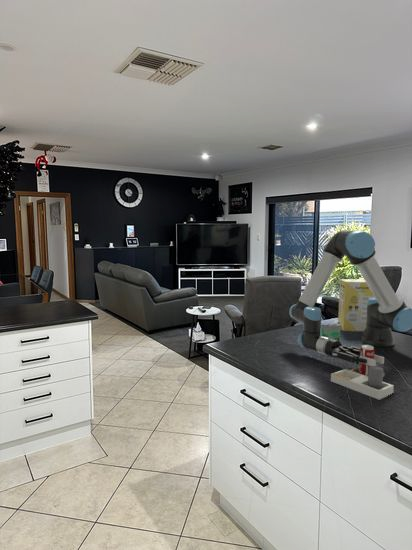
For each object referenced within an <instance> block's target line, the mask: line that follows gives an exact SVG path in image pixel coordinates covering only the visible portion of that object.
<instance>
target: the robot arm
mask: <svg viewBox="0 0 412 550" xmlns="http://www.w3.org/2000/svg"><path fill="white" fill-rule="evenodd" d="M375 246H376V242H375V238H374V237H373V236H372V235H371V234H370V233H368V232H366V231H363V230H359V229H358V230H348V229H344V230H340V231H338V232H336V233H334V235H333V236H332V237H330V239H329V240H328V241H327V244H326V245H325V247H324V248H323V251H322V252H321V253H322V257H321V259H320V260H319V262H318V264H317V266H316V268H315V269H314V271H313V273H312V275H311V277H310V279H309V281H308V283H307V284H306V286H305V288H304V290H303V291H302V294H301V295H300V296H299V299H298V301H297V302H296V303H295V304H292V305H291V306H290V308H289V311H288V312H289V313H288V314H289V316H290V318H292V319H293V320H294V321H296V322H298V323H300V324H301V325H303V331H301V332H300V333H299V334H298V337H297V345H299V347H301V348H304V349H305V350H308V351H312V352H315V353H319V354H322V355H323V356H328V357H331V358H336V359H340V360H343V361H346V362H349V363H352V364H356V365H360V363H363V364H366V365H369V366H377V364H380V365H384V363H385V357H384V356H381V355H377V354H375V353H374V359H371V358H367V357H363V356H360V349H361V347H357V346H354V345H351V344H350V346H347V345H342V343H341V341H340V340H339V341H338V340H334V339H331V338H328V337H324V336H322V335H321V324H322V310H321V308H320V307H317V306H315V304H316V302H317V301H318V299H319V297H320V295H321V294H322V292H323V289H324V288H325V287H326V285H327V282H328V281H329V279H330V277H331V276H332V274H333V272H334V270H335V269H336V266H337V264H338V263H340V262H342V260H343V259H344V257H346V258H347V259H348V261H349V264H351V265H352V266H355V267H356V268H357V269H358V271H359V273H360V275H361V277H362V278H363V279H364V280H365V281H366V283H367V285H368V286H369V288H370V290H371V292H372V293H373V295H374V297H375V298H370V299H369V300H368V303H367V320H366V328H365V330H364V331H363V334H362V336H361V342H362V343H364V345H370V346H373V347H381V348H383V347H384V348H388V347H392V346H394V345H395V337H394V335H393V331H392V330H395V332H408V331H409V330H411V329H412V307H408V306H407V305H406V302H405V301H404V300H403V298H402V297H399V296H397V294H396V293H395V291H394V288H392V286H391V283H390V281H389V280H388V279H387V277H386V275H385V273H384V271H383V269H382V268H381V266H380V265H379V263H378V261H377V259H376V257H375V255H376V250H375V249H376V248H375Z"/></svg>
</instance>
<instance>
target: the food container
mask: <svg viewBox="0 0 412 550" xmlns="http://www.w3.org/2000/svg"><path fill="white" fill-rule="evenodd" d="M341 330H342V325H341V323H340V322H338V321H337V323H329V324H322V323H321V329H320V332H321V336H324V337H328V338H331V339H334V340H338V341H340V338H341V337H340V336H341V332H342V331H341Z"/></svg>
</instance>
